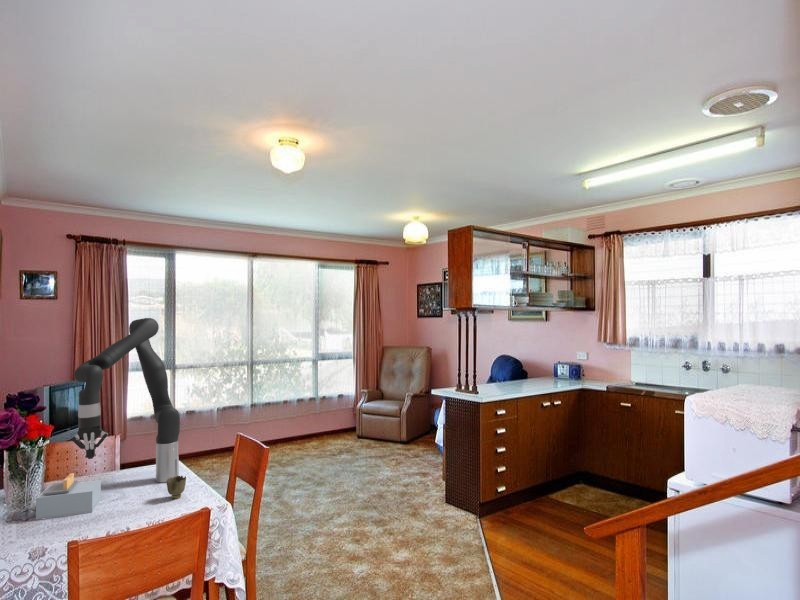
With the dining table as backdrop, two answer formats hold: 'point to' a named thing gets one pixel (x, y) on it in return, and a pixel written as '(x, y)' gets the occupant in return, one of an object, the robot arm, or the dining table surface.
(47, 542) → the dining table surface
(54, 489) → the lid
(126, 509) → the dining table surface
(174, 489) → the cup
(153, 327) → the robot arm
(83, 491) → the housing
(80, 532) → the dining table surface
